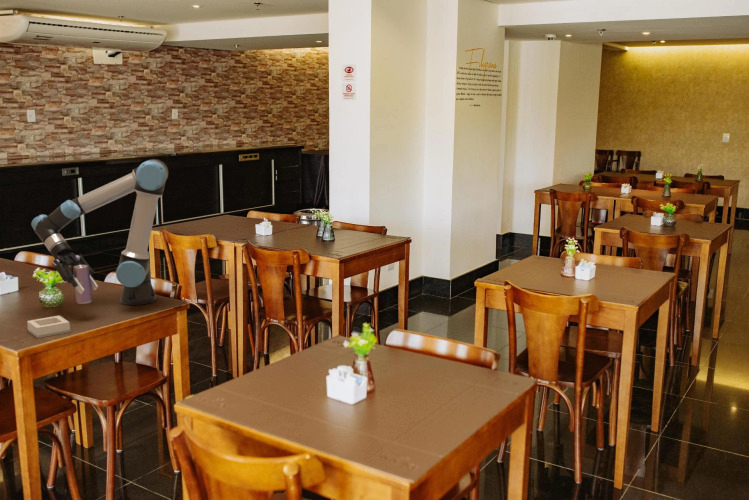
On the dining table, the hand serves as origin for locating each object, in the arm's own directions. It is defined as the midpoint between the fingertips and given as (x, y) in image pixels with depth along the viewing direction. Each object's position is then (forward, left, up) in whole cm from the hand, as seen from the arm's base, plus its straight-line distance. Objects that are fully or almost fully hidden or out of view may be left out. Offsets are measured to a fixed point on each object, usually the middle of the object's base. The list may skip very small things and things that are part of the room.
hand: (89, 290), depth 296 cm
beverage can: (+1, -3, -6) cm, 7 cm away
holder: (+18, +5, -13) cm, 22 cm away
